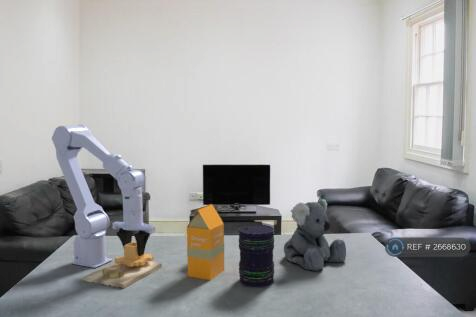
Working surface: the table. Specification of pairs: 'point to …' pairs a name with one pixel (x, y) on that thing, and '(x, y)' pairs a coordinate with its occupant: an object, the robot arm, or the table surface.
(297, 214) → the koala plush
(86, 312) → the table surface
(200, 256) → the orange juice
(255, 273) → the storage jar
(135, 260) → the gear
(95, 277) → the carrier plate
